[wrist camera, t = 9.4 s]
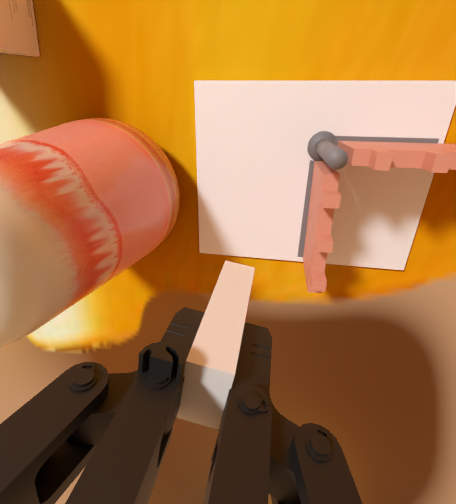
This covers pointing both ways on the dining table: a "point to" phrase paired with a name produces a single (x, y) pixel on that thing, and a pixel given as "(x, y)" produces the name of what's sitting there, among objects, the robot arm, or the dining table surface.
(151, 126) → the dining table surface
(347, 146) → the fixed fence panel
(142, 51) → the dining table surface
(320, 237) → the folding fence panel
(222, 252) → the card
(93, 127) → the vase
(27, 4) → the ink box
